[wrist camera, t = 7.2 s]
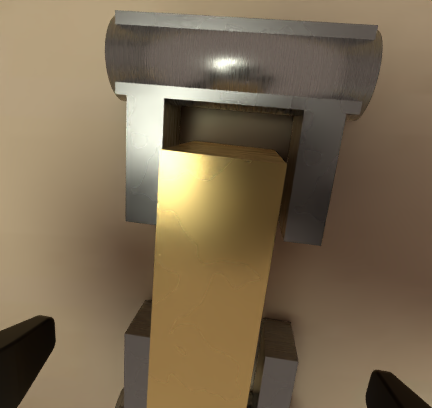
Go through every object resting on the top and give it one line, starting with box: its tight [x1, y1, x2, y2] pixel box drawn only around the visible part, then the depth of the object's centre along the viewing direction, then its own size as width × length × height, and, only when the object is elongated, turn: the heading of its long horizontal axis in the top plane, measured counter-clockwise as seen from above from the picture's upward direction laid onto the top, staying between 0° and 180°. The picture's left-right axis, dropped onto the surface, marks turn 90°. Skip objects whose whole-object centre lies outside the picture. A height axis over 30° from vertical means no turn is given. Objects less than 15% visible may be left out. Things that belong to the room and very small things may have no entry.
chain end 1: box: [105, 10, 383, 246], centre depth 11 cm, size 7×8×3 cm
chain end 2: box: [115, 300, 298, 408], centre depth 14 cm, size 7×8×3 cm
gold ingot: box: [147, 141, 287, 408], centre depth 12 cm, size 11×3×5 cm, turn 174°
